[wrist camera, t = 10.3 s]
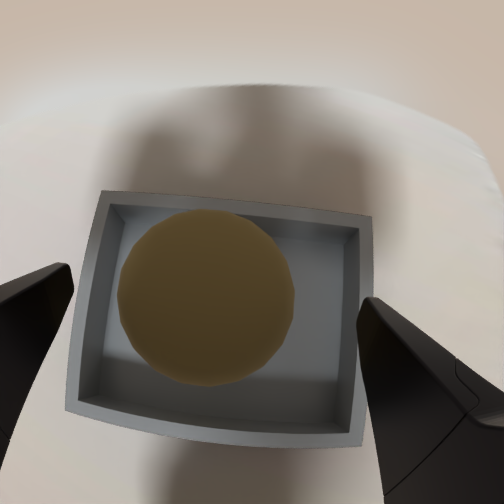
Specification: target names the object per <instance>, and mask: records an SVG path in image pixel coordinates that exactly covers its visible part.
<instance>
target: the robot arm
mask: <svg viewBox="0 0 504 504" xmlns="http://www.w3.org/2000/svg"><path fill="white" fill-rule="evenodd" d="M73 293H74V284H73V279H72V274H71V269H70V266H69V265H68V264H66V263H59V262H57V263H54V264H52V265H49V266H47V267H44V268H42V269H39V270H37V271H34V272H32V273H29V274H27V275H24V276H22V277H19V278H17V279H14V280H12V281H10V282H7V283H5V284H2V285H0V470H1V466H2V463H3V460H4V457H5V454H6V451H7V448H8V445H9V442H10V439H11V436H12V434H13V431H14V428H15V426H16V423H17V420H18V418H19V415H20V413H21V410H22V408H23V405H24V403H25V401H26V398H27V396H28V394H29V391H30V389H31V387H32V384H33V382H34V380H35V378H36V375H37V373H38V371H39V369H40V367H41V365H42V362H43V360H44V358H45V356H46V354H47V352H48V350H49V348H50V346H51V344H52V342H53V340H54V338H55V336H56V334H57V332H58V330H59V327H60V325H61V322H62V320H63V317H64V315H65V312H66V310H67V307H68V305H69V303H70V300H71V298H72V296H73ZM356 332H357V340H358V349H359V359H360V367H361V373H362V378H363V382H364V387H365V392H366V397H367V402H368V407H369V412H370V417H371V422H372V427H373V433H374V438H375V444H376V450H377V456H378V462H379V468H380V475H381V482H382V489H383V495H384V504H504V392H503V391H501V390H500V389H498V388H497V387H495V386H494V385H493V384H491V383H490V382H488V381H487V380H485V379H484V378H483V377H481V376H480V375H478V374H477V373H476V372H474V371H473V370H472V369H471V368H469V367H468V366H467V365H465V364H464V363H463V362H462V361H460V360H459V359H458V358H456V357H455V356H454V355H453V354H451V353H450V352H449V351H447V350H446V349H445V348H444V347H442V346H441V345H440V344H438V343H437V342H436V341H435V340H433V339H432V338H431V337H429V336H428V335H427V334H426V333H424V332H423V331H422V330H420V329H419V328H418V327H416V326H415V325H414V324H412V323H411V322H410V321H408V320H407V319H406V318H404V317H403V316H402V315H401V314H399V313H398V312H397V311H395V310H394V309H393V308H391V307H390V306H389V305H387V304H386V303H384V302H383V301H382V300H380V299H379V298H377V297H366V298H364V300H363V302H362V305H361V308H360V311H359V314H358V316H357V320H356Z"/></svg>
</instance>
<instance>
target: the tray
mask: <svg viewBox="0 0 504 504" xmlns="http://www.w3.org/2000/svg"><path fill="white" fill-rule="evenodd" d="M196 209H210V210H222V211H228V212H231V213H233V214H235V215H238V216H240V217H243V218H245V219H248V220H250V221H252V222H253V223H254V224H256V225H257V226H258V227H259V228H261V229H262V230H263V231H264V232H265V233H267V234H268V235H269V236H270V237H272V239H273V240H274V242H275V243H276V245H277V246H278V248H279V249H280V251H281V253H282V254H283V256H284V257H285V259H286V260H287V263H288V266H289V270H290V274H291V277H292V281H293V285H294V289H295V298H294V314H293V320H292V323H291V325H290V328H289V330H288V333H287V335H286V337H285V340H284V342H283V345H282V346H281V347H280V348H279V349H278V351H277V352H276V353H275V354H274V355H273V356H272V357H271V359H270V360H269V361H268V362H267V363H266V364H265V366H264V367H262V368H260V369H259V370H257V371H255V372H253V373H252V374H250V375H248V376H247V377H245V378H243V379H241V380H240V381H237V382H232V383H227V384H222V385H217V386H212V387H206V386H198V385H190V384H183V383H180V382H177V381H175V380H173V379H171V378H169V377H167V376H165V375H163V374H161V373H159V372H157V371H155V370H154V369H153V368H152V367H151V366H150V365H149V364H148V363H147V362H146V361H145V360H144V359H143V358H142V357H141V356H140V355H139V354H138V353H137V352H136V351H135V350H134V348H133V347H132V345H131V343H130V341H129V339H128V337H127V335H126V333H125V331H124V329H123V327H122V325H121V323H120V316H119V310H118V303H117V290H118V284H119V278H120V272H121V268H122V266H123V264H124V262H125V260H126V259H127V257H128V255H129V253H130V251H131V249H132V247H133V245H134V244H135V243H136V242H137V241H138V240H139V239H140V238H141V237H142V236H143V235H144V234H145V233H146V232H147V231H148V230H149V229H150V228H151V227H152V226H154V225H156V224H157V223H159V222H161V221H163V220H165V219H167V218H168V217H170V216H172V215H174V214H178V213H182V212H187V211H192V210H196ZM366 297H373V232H372V217H371V216H364V215H357V214H349V213H342V212H335V211H327V210H319V209H311V208H303V207H295V206H286V205H277V204H268V203H259V202H249V201H239V200H229V199H218V198H207V197H195V196H182V195H169V194H155V193H140V192H123V191H104V190H102V191H101V194H100V198H99V201H98V205H97V208H96V212H95V216H94V220H93V223H92V227H91V231H90V235H89V240H88V244H87V248H86V253H85V257H84V262H83V266H82V271H81V276H80V282H79V287H78V292H77V298H76V304H75V310H74V317H73V324H72V331H71V339H70V348H69V357H68V368H67V380H66V396H65V411H68V412H71V413H74V414H78V415H81V416H84V417H88V418H91V419H94V420H98V421H102V422H105V423H109V424H113V425H117V426H121V427H125V428H130V429H134V430H138V431H143V432H148V433H153V434H158V435H163V436H169V437H175V438H181V439H187V440H194V441H201V442H209V443H217V444H227V445H237V446H250V447H267V448H343V447H360V446H362V441H363V433H364V426H365V418H366V409H367V397H366V392H365V387H364V382H363V378H362V373H361V367H360V359H359V349H358V340H357V332H356V320H357V316H358V314H359V311H360V308H361V305H362V302H363V300H364V298H366Z"/></svg>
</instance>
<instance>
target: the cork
mask: <svg viewBox="0 0 504 504" xmlns="http://www.w3.org/2000/svg"><path fill="white" fill-rule="evenodd" d="M294 298H295V289H294V285H293V281H292V277H291V274H290V270H289V266H288V263H287V260H286V259H285V257H284V256H283V254H282V253H281V251H280V249H279V248H278V246H277V245H276V243H275V242H274V240H273V239H272V237H270V236H269V235H268V234H267V233H265V232H264V231H263V230H262V229H261V228H259V227H258V226H257V225H256V224H254V223H253V222H252V221H250V220H248V219H245V218H243V217H240V216H238V215H235V214H233V213H231V212H228V211H222V210H210V209H196V210H192V211H187V212H182V213H178V214H174V215H172V216H170V217H168V218H167V219H165V220H163V221H161V222H159V223H157V224H156V225H154V226H152V227H151V228H150V229H149V230H148V231H147V232H146V233H145V234H144V235H143V236H142V237H141V238H140V239H139V240H138V241H137V242H136V243H135V244H134V245H133V247H132V249H131V251H130V253H129V255H128V257H127V259H126V260H125V262H124V264H123V266H122V268H121V272H120V278H119V284H118V290H117V303H118V310H119V316H120V323H121V325H122V327H123V329H124V331H125V333H126V335H127V337H128V339H129V341H130V343H131V345H132V347H133V348H134V350H135V351H136V352H137V353H138V354H139V355H140V356H141V357H142V358H143V359H144V360H145V361H146V362H147V363H148V364H149V365H150V366H151V367H152V368H153V369H154V370H155V371H157V372H159V373H161V374H163V375H165V376H167V377H169V378H171V379H173V380H175V381H177V382H180V383H183V384H190V385H198V386H206V387H212V386H217V385H222V384H227V383H232V382H237V381H240V380H241V379H243V378H245V377H247V376H248V375H250V374H252V373H253V372H255V371H257V370H259V369H260V368H262V367H264V366H265V364H266V363H267V362H268V361H269V360H270V359H271V357H272V356H273V355H274V354H275V353H276V352H277V351H278V349H279V348H280V347H281V346H282V345H283V342H284V340H285V337H286V335H287V333H288V330H289V328H290V325H291V323H292V320H293V314H294Z"/></svg>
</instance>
